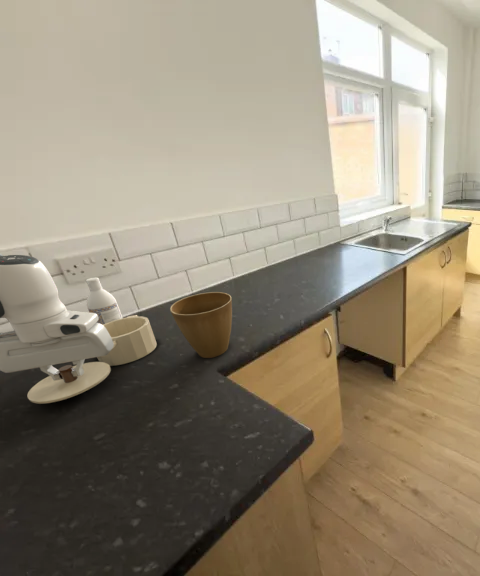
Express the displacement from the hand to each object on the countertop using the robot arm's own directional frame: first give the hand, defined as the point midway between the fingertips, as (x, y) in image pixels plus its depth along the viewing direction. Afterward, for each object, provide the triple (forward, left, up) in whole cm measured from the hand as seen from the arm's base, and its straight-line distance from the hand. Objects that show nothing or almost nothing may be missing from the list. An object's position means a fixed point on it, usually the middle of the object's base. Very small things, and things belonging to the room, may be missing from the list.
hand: (69, 376), depth 76 cm
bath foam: (-2, +29, -5) cm, 30 cm away
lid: (0, 0, -2) cm, 2 cm away
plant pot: (+30, +7, -5) cm, 31 cm away
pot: (+6, +16, -5) cm, 18 cm away
